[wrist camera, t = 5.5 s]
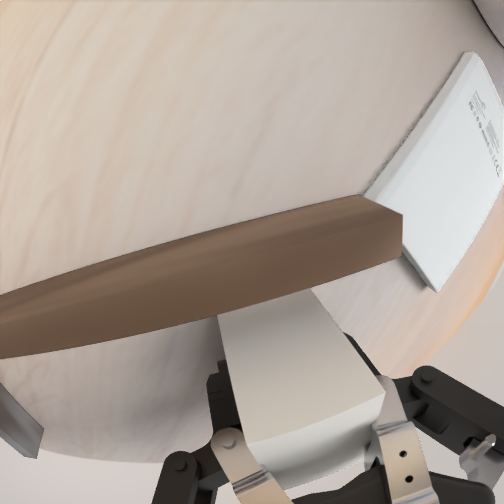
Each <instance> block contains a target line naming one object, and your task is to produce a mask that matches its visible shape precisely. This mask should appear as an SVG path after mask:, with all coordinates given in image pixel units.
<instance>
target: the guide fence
mask: <svg viewBox="0 0 504 504" xmlns="http://www.w3.org/2000/svg"><path fill="white" fill-rule="evenodd" d="M402 235H403V215H402V214H400V213H398V212H396V211H394V210H392V209H390V208H387V207H385V206H383V205H381V204H379V203H376V202H374V201H372V200H369V199H367V198H365V197H363V196H360V195H358V194H357V195H353V196H348V197H344V198H340V199H335V200H331V201H327V202H322V203H318V204H314V205H309V206H305V207H301V208H297V209H293V210H289V211H285V212H281V213H277V214H273V215H269V216H265V217H261V218H257V219H253V220H249V221H245V222H241V223H237V224H233V225H230V226H226V227H222V228H218V229H215V230H211V231H207V232H203V233H200V234H196V235H192V236H189V237H185V238H182V239H178V240H174V241H171V242H167V243H164V244H160V245H157V246H153V247H150V248H146V249H143V250H140V251H136V252H133V253H129V254H126V255H123V256H119V257H116V258H113V259H110V260H106V261H103V262H100V263H96V264H93V265H90V266H87V267H84V268H81V269H77V270H74V271H71V272H68V273H65V274H62V275H59V276H56V277H53V278H50V279H47V280H44V281H41V282H38V283H35V284H32V285H29V286H26V287H23V288H20V289H17V290H14V291H11V292H8V293H6V294H3V295H0V359H6V358H13V357H20V356H27V355H34V354H40V353H46V352H52V351H58V350H64V349H69V348H75V347H80V346H85V345H91V344H96V343H101V342H106V341H110V340H115V339H120V338H125V337H129V336H134V335H138V334H143V333H147V332H151V331H156V330H160V329H164V328H168V327H172V326H177V325H181V324H185V323H189V322H193V321H196V320H200V319H204V318H208V317H212V316H216V315H219V314H223V313H227V312H230V311H234V310H238V309H241V308H245V307H248V306H252V305H255V304H259V303H262V302H265V301H269V300H272V299H276V298H279V297H282V296H286V295H289V294H292V293H295V292H299V291H302V290H305V289H308V288H311V287H314V286H317V285H321V284H324V283H327V282H330V281H333V280H336V279H339V278H342V277H345V276H348V275H351V274H354V273H357V272H359V271H362V270H365V269H368V268H371V267H374V266H376V265H379V264H382V263H385V262H388V261H390V260H393V259H396V258H398V257H401V255H402ZM43 430H44V428H42V427H41V426H40V425H39V424H38V423H37V422H36V421H35V420H34V419H33V418H32V417H31V416H30V415H29V414H28V413H27V412H26V411H25V410H24V409H23V408H22V407H21V406H20V405H19V404H18V403H17V402H16V401H15V400H14V398H13V397H12V396H11V395H10V394H9V393H8V392H7V391H6V389H5V388H4V387H3V386H2V385H1V383H0V437H1V438H2V439H4V440H5V441H6V442H7V443H8V444H10V445H11V446H12V447H13V448H14V449H16V450H17V451H18V452H19V453H21V454H22V455H23V456H25V457H30V458H35V459H37V455H38V450H39V446H40V442H41V438H42V434H43Z"/></svg>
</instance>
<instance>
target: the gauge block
mask: <svg viewBox="0 0 504 504" xmlns="http://www.w3.org/2000/svg"><path fill="white" fill-rule="evenodd" d="M217 317H218V322H219V327H220V332H221V337H222V342H223V346H224V351H225V356H226V361H227V365H228V370H229V374H230V379H231V383H232V388H233V392H234V396H235V401H236V405H237V409H238V413H239V417H240V421H241V425H242V429H243V433H244V437H245V441H246V445H247V446H248V448H249V450H250V451H251V453H252V455H253V456H254V458H255V460H256V461H257V463H258V464H259V465H261V464H264V465H265V467H266V468H267V469H268V471H269V472H270V473H271V474H272V476H273V477H274V478H275V480H276V481H277V482H278V484H279V485H280V487H281V488H282V489H283V490H286V489H289V488H293V487H296V486H299V485H302V484H305V483H308V482H311V481H314V480H317V479H320V478H322V477H324V476H328V475H330V474H332V473H335V472H338V471H340V470H342V469H345V468H347V467H349V466H352V465H354V464H356V463H358V462H360V461H362V460H364V446H365V445H366V444H368V443H370V441H371V432H370V427H371V423H373V422H375V421H377V420H378V417H379V414H380V411H381V407H382V404H383V401H384V397H385V393H386V391H385V390H384V388H383V387H382V385H381V384H380V383H379V381H378V380H377V378H376V377H375V376H374V374H373V373H372V371H371V370H370V369H369V367H368V366H367V365H366V363H365V362H364V360H363V359H362V358H361V356H360V355H359V354H358V352H357V351H356V350H355V348H354V347H353V345H352V344H351V343H350V341H349V340H348V339H347V337H346V336H345V335H344V333H343V332H342V331H341V329H340V328H339V327H338V325H337V324H336V323H335V321H334V320H333V319H332V317H331V316H330V315H329V313H328V312H327V311H326V309H325V308H324V307H323V305H322V304H321V303H320V301H319V300H318V299H317V297H316V296H315V295H314V293H313V292H312V291H311V289H310V288H308V289H305V290H302V291H299V292H295V293H292V294H289V295H286V296H282V297H279V298H276V299H272V300H269V301H265V302H262V303H259V304H255V305H252V306H248V307H245V308H241V309H238V310H234V311H230V312H227V313H223V314H219V315H217Z"/></svg>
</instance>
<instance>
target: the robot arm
mask: <svg viewBox="0 0 504 504" xmlns="http://www.w3.org/2000/svg"><path fill="white" fill-rule="evenodd" d="M474 2H475V4H476V5H477V7H478V9H479V11H480V13H481V14H482V16H483V18H484V19H485V21H486V23H487V24H488V26H489V27H490V29H491V30H492V32H493V34H494V35H495V36H496V38H497V39H498V40H499V42H500V43H501V44H502V45H503V46H504V0H474ZM343 333H344V332H343ZM344 335H345V336H346V337H347V339H348V340H349V341H350V343H351V344H352V345H353V347H354V348H355V350H356V351H357V352H358V354H359V355H360V356H361V358H362V359H363V360H364V362H365V363H366V365H367V366H368V367H369V369H370V370H371V371H372V373H373V374H374V376H375V377H376V378H377V380H378V381H379V383H380V384H381V385H382V387H383V388H384V390H385V391H386V393H385V397H384V401H383V404H382V407H381V411H380V414H379V417H378V420H377V421H375V422H373V423H371V427H370V432H371V441H370V443H368V444H366V445H365V446H364V465H365V472H363V473H361V474H360V475H358V476H357V477H356V478H354V479H353V480H352V481H350V482H349V483H347V484H346V485H345V486H343V487H342V488H340V489H338V490H333V491H327V492H320V493H313V494H308V495H305V496H302V497H299V498H296V499H292V500H290V498H289V497H288V496H287V494H286V493H285V492H284V490H283V489H282V488H281V487H280V485H279V484H278V482H277V481H276V480H275V478H274V477H273V476H272V474H271V473H270V472H269V471H268V469H267V468H266V467H265V465H264V464H261V465H259V464H258V463H257V461H256V460H255V458H254V456H253V455H252V453H251V451H250V450H249V448H248V446H247V445H246V441H245V437H244V433H243V429H242V425H241V421H240V417H239V413H238V409H237V405H236V401H235V396H234V392H233V388H232V383H231V379H230V374H229V370H228V365H227V361H226V359H224V360H220V361H217V364H218V369H219V373H215V374H211V375H209V378H208V381H207V384H206V386H207V393H208V400H209V407H210V413H211V419H212V425H213V435H212V438H211V440H210V441H209V442H208V444H206V445H205V446H204V447H202V448H200V449H198V450H196V451H194V452H192V453H188V452H185V451H177V452H174V453H172V454H170V455H169V456H168V457H167V458H166V459H165V461H164V464H163V468H162V471H161V474H160V477H159V481H158V484H157V487H156V491H155V494H154V497H153V500H152V504H215V500H216V495H217V490H218V487H220V486H222V485H224V484H226V483H228V482H231V484H232V486H233V490H234V492H235V494H236V496H237V498H238V499H239V501H240V503H241V504H495V496H494V493H493V491H492V489H493V488H494V486H495V484H496V483H497V481H498V480H499V478H500V476H501V475H502V473H503V471H504V407H503V406H501V405H499V404H497V403H496V402H494V401H492V400H490V399H488V398H487V397H485V396H483V395H482V394H480V393H478V392H476V391H474V390H472V389H471V388H469V387H467V386H466V385H464V384H462V383H461V382H459V381H457V380H455V379H454V378H452V377H450V376H448V375H447V374H445V373H443V372H441V371H440V370H438V369H436V368H434V367H432V366H421V367H419V368H417V369H416V370H415V371H414V373H413V375H412V376H409V377H404V378H399V379H391V378H389V377H387V376H384V375H381V374H380V373H379V372H378V370H377V369H376V368H375V366H374V365H373V364H372V362H371V361H370V360H369V358H368V357H367V356H366V354H365V353H364V352H363V351H362V349H361V348H360V346H358V344H357V343H356V341H355V340H354V339H353V337H351V336H349V335H348V334H346V333H344ZM415 427H417V428H418V429H420V430H421V431H423V432H424V433H426V434H427V435H429V436H430V437H432V438H433V439H435V440H436V441H438V442H439V443H441V444H442V445H444V446H445V447H447V448H448V449H450V450H451V451H453V452H455V453H456V454H458V455H460V457H459V463H460V467H461V468H462V469H463V470H465V472H466V473H467V476H468V480H465V479H460V478H455V477H450V476H446V475H442V474H438V473H434V472H431V471H428V468H427V465H426V461H425V458H424V454H423V451H422V448H421V444H420V441H419V438H418V434H417V431H416V428H415Z"/></svg>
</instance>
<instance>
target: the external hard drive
mask: <svg viewBox="0 0 504 504" xmlns="http://www.w3.org/2000/svg"><path fill="white" fill-rule="evenodd" d="M503 184H504V107H503V104H502V102H501V99H500V97H499V95H498V92H497V90H496V88H495V85H494V83H493V81H492V79H491V77H490V75H489V73H488V71H487V69H486V67H485V65H484V63H483V61H482V59H481V58H480V57H479V55H478V54H477V53H476V52H464V54H463V56H462V57H461V59H460V60H459V62H458V64H457V65H456V67H455V68H454V70H453V72H452V73H451V75H450V76H449V78H448V79H447V81H446V82H445V84H444V85H443V87H442V88H441V90H440V91H439V93H438V94H437V96H436V97H435V98H434V100H433V101H432V103H431V104H430V106H429V107H428V109H427V110H426V112H425V113H424V114H423V116H422V117H421V119H420V120H419V122H418V123H417V124H416V126H415V127H414V129H413V130H412V131H411V133H410V134H409V136H408V137H407V138H406V140H405V141H404V142H403V144H402V145H401V146H400V148H399V149H398V150H397V152H396V153H395V154H394V156H393V157H392V159H391V160H390V161H389V163H388V164H387V165H386V167H385V168H384V169H383V170H382V172H381V173H380V174H379V176H378V177H377V178H376V180H375V181H374V182H373V183H372V185H371V186H370V187H369V189H368V190H367V191H366V192H365V194H364V195H363V197H365V198H367V199H369V200H372V201H374V202H376V203H379V204H381V205H383V206H385V207H387V208H390V209H392V210H394V211H396V212H398V213H400V214H402V215H403V235H402V253H403V254H404V255H405V257H406V258H407V259H408V261H409V262H410V263H411V264H412V266H413V267H414V268H415V270H416V271H417V272H418V274H419V275H420V277H421V278H422V279H423V281H424V282H425V284H426V285H427V286H428V287H429V288H431V289H432V290H434V291H435V292H436V293H437V292H438V291H439V290H440V289H441V287H442V286H443V285H444V283H445V282H446V280H447V279H448V278H449V276H450V275H451V273H452V272H453V271H454V269H455V268H456V266H457V265H458V263H459V262H460V260H461V259H462V257H463V256H464V254H465V253H466V251H467V250H468V248H469V246H470V245H471V243H472V242H473V240H474V238H475V237H476V235H477V233H478V232H479V230H480V228H481V226H482V225H483V223H484V221H485V219H486V218H487V216H488V214H489V212H490V210H491V208H492V206H493V204H494V203H495V201H496V199H497V197H498V194H499V192H500V190H501V188H502V186H503Z"/></svg>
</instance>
